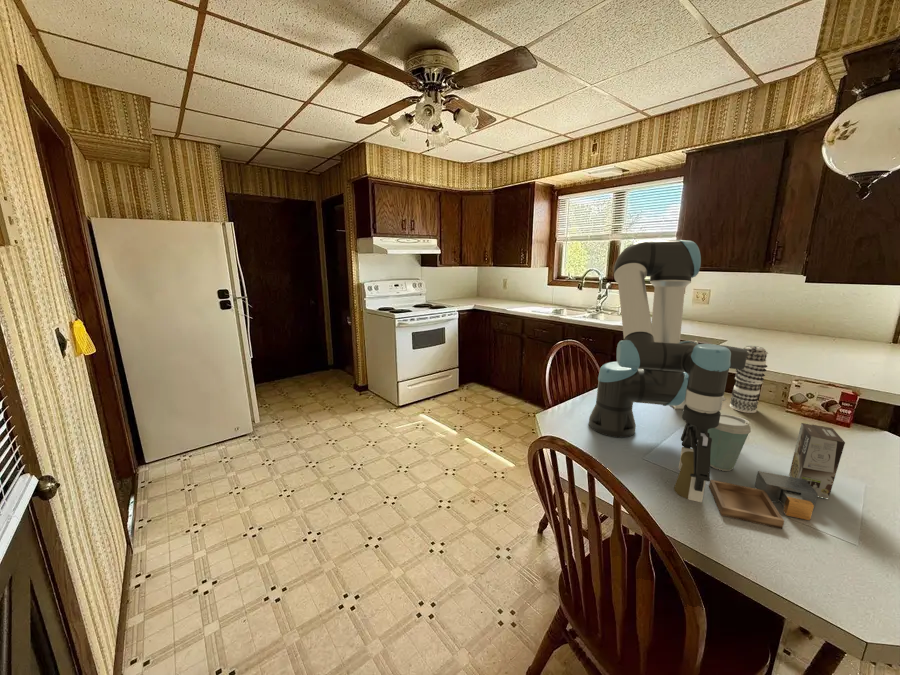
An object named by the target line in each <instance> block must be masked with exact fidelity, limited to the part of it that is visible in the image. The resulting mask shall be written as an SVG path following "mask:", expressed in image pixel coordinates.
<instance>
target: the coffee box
mask: <svg viewBox="0 0 900 675" xmlns="http://www.w3.org/2000/svg"><path fill="white" fill-rule="evenodd" d="M845 444H846V442H845V441H844V439H843V438H842V437H841V436H840V435H839V434H838V433H837V431H836V430H835V429H834V428H833V427H829V426H822V425H816V424H810V423H809V424H808V423H804V422H801V424H800V428H799V430H798V436H797V439H796V444H795V448H794V452H793V456H792V461H791V464H790V469H789V472H788V477H794V478H799V479H805V480H806V481H807V482H808V483H809V484H810V485H811V486H812V488H813V489H814V490H815V491H816V492H817V494H818V495H817V496H819V497H823V498H828V500H829V498H830V495H831V492H832V489H833V485H834V482H835V478H836V474H837V472H838V471H837V470H838V469H839V468H838V467H839V464H840V462H841V458H842V454H843V451H844V448H845ZM819 497H818V498H819ZM823 498H822V499H823Z"/></svg>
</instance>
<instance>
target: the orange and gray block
mask: <svg viewBox="0 0 900 675" xmlns="http://www.w3.org/2000/svg"><path fill="white" fill-rule="evenodd" d="M778 502H780V504H781V505H782V507H783V513H784V514H785V516H788V517H793V518H795V519H796V518H797V519H802V520H806V521H810V520H811V518H812V515H813V511H814V510H813V508H814V509H815V506H814V505H813V504H812V502H811V501H807V500H803V499H802V498H801V496H800V495H799V494H798V492H794V491H789V490H784V489H781V493H780V497H779V501H778Z"/></svg>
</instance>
